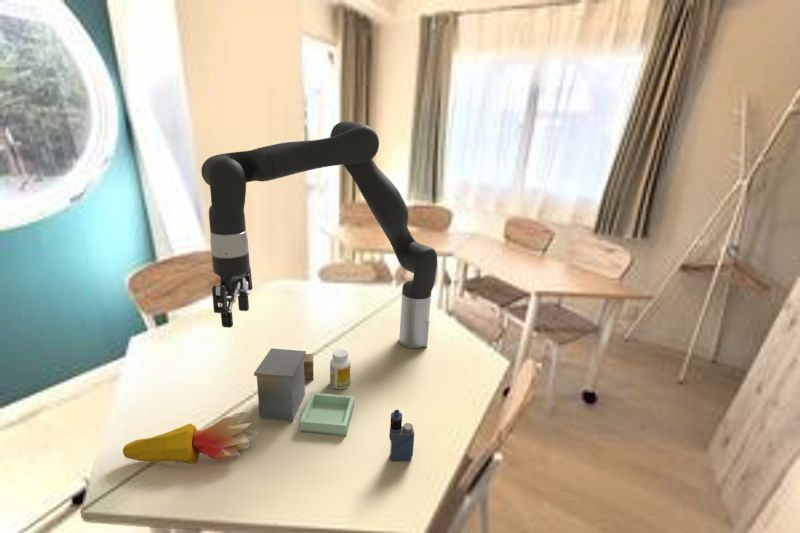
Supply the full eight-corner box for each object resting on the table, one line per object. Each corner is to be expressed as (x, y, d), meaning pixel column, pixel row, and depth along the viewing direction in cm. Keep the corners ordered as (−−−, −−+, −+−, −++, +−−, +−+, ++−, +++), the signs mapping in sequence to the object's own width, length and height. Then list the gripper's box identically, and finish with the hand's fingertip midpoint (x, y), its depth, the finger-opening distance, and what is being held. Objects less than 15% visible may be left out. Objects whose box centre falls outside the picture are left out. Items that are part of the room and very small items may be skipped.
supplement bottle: (353, 380, 113) (354, 350, 110) (344, 391, 109) (345, 360, 105) (335, 376, 115) (335, 345, 112) (326, 387, 110) (326, 355, 107)
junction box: (306, 394, 107) (305, 351, 103) (294, 422, 97) (292, 376, 92) (273, 391, 107) (271, 348, 103) (257, 419, 97) (253, 372, 93)
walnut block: (313, 372, 116) (313, 353, 114) (313, 380, 113) (313, 361, 111) (298, 373, 116) (298, 354, 114) (298, 381, 112) (297, 362, 110)
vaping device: (387, 453, 89) (390, 407, 85) (411, 452, 90) (415, 406, 86) (388, 462, 87) (391, 415, 83) (413, 461, 87) (416, 415, 83)
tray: (354, 406, 103) (354, 396, 102) (346, 436, 93) (346, 425, 92) (312, 402, 104) (312, 392, 103) (300, 432, 94) (299, 421, 93)
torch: (135, 473, 85) (260, 445, 90) (116, 487, 78) (253, 456, 82) (131, 432, 86) (255, 406, 91) (112, 442, 79) (248, 414, 83)
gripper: (232, 262, 82) (238, 334, 88) (259, 243, 96) (263, 306, 101) (195, 260, 83) (204, 331, 88) (228, 241, 96) (234, 304, 101)
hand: (236, 318), depth 95 cm, fingers open, 8 cm apart
